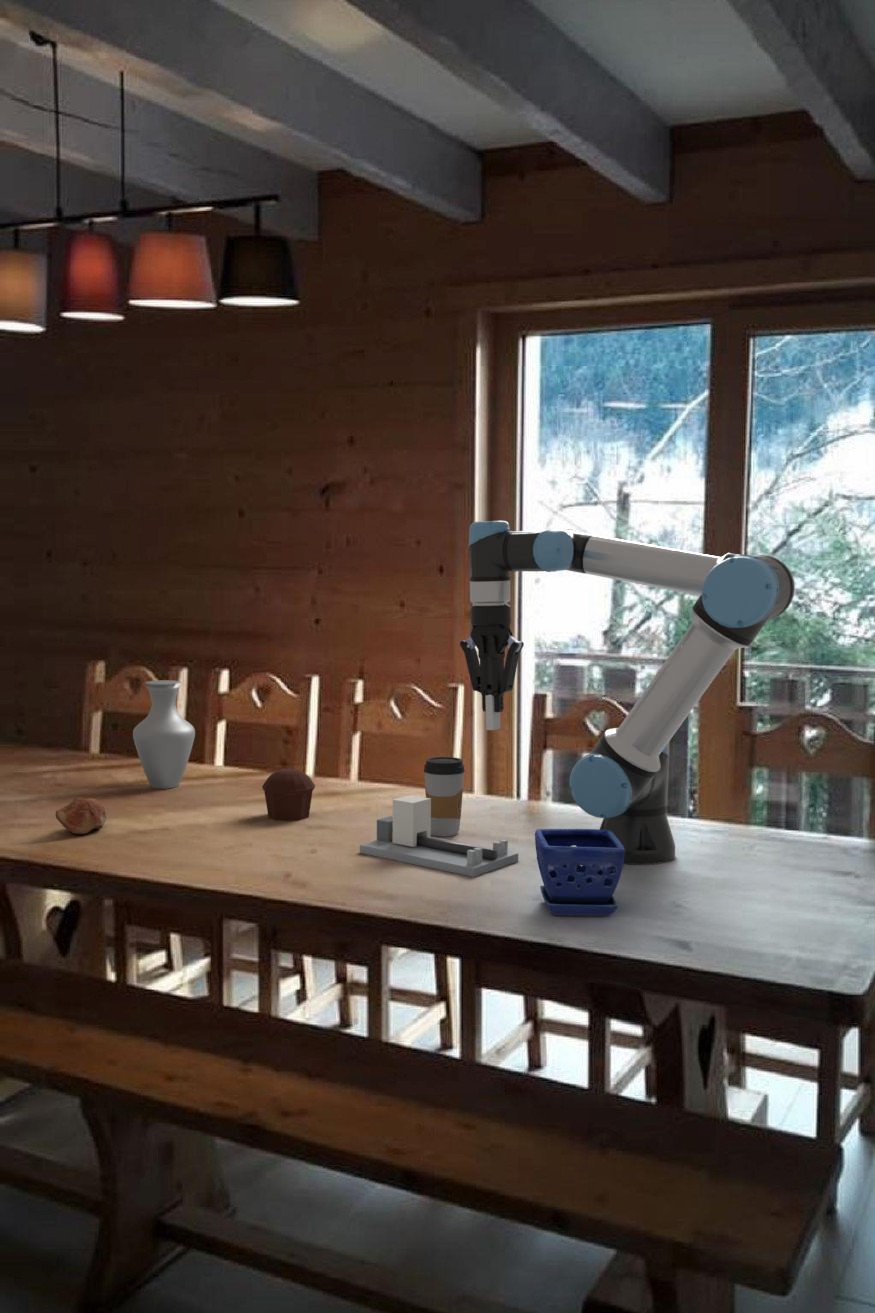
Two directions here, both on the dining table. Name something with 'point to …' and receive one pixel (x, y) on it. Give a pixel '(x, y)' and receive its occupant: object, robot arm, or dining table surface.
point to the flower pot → (579, 870)
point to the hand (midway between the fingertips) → (493, 729)
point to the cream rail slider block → (411, 819)
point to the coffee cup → (444, 793)
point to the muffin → (288, 795)
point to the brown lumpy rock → (82, 815)
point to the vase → (164, 737)
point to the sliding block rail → (440, 852)
